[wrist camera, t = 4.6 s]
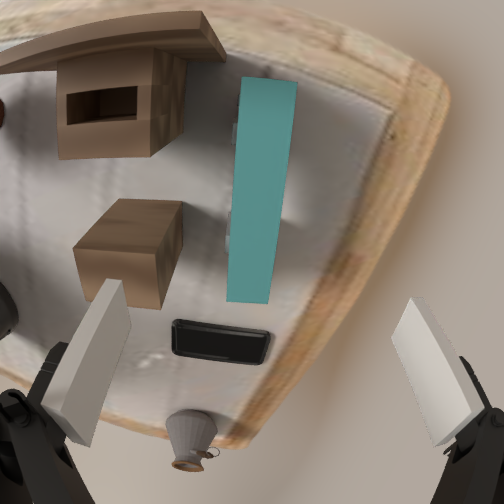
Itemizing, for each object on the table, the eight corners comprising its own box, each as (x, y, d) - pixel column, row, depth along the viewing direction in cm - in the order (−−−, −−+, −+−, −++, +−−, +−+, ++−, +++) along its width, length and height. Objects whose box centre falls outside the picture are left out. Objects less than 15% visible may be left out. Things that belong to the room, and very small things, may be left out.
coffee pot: (208, 431, 63) (204, 486, 50) (162, 419, 60) (153, 475, 47) (246, 392, 54) (246, 462, 41) (188, 376, 51) (178, 449, 38)
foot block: (182, 246, 37) (160, 310, 27) (123, 242, 37) (86, 300, 26) (182, 201, 34) (154, 254, 24) (118, 198, 34) (72, 248, 23)
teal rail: (265, 255, 37) (270, 304, 29) (228, 253, 37) (223, 301, 29) (285, 84, 27) (300, 82, 19) (240, 80, 27) (238, 76, 19)
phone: (171, 321, 43) (272, 334, 44) (172, 316, 44) (271, 329, 45) (171, 354, 47) (261, 366, 48) (172, 349, 48) (261, 361, 49)
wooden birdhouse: (219, 134, 30) (190, 185, 15) (86, 135, 30) (-21, 188, 14) (226, 53, 26) (201, 10, 10) (86, 62, 25) (-28, 65, 9)
